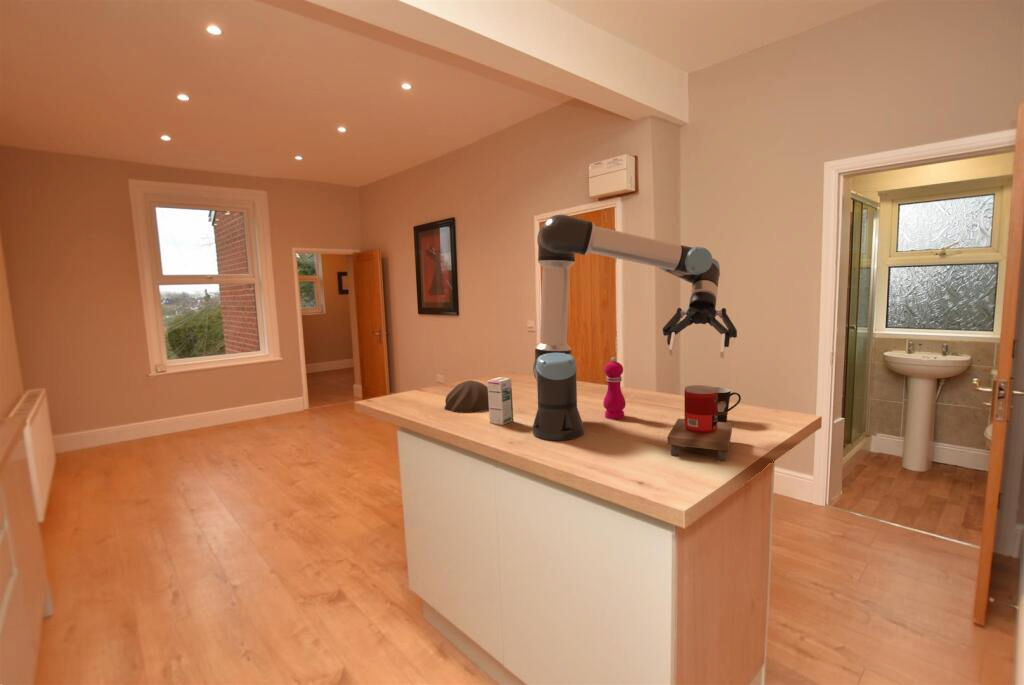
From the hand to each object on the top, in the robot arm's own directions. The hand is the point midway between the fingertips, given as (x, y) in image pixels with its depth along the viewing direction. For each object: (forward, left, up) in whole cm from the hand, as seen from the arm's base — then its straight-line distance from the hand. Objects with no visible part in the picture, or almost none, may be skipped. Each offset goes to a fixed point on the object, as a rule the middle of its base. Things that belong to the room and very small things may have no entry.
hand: (695, 353), depth 137 cm
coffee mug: (+6, +15, -23) cm, 29 cm away
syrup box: (-59, -8, -23) cm, 64 cm away
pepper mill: (-26, +10, -23) cm, 37 cm away
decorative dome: (-81, +8, -24) cm, 85 cm away
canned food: (+3, -13, -18) cm, 22 cm away
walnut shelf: (+3, -13, -23) cm, 27 cm away
